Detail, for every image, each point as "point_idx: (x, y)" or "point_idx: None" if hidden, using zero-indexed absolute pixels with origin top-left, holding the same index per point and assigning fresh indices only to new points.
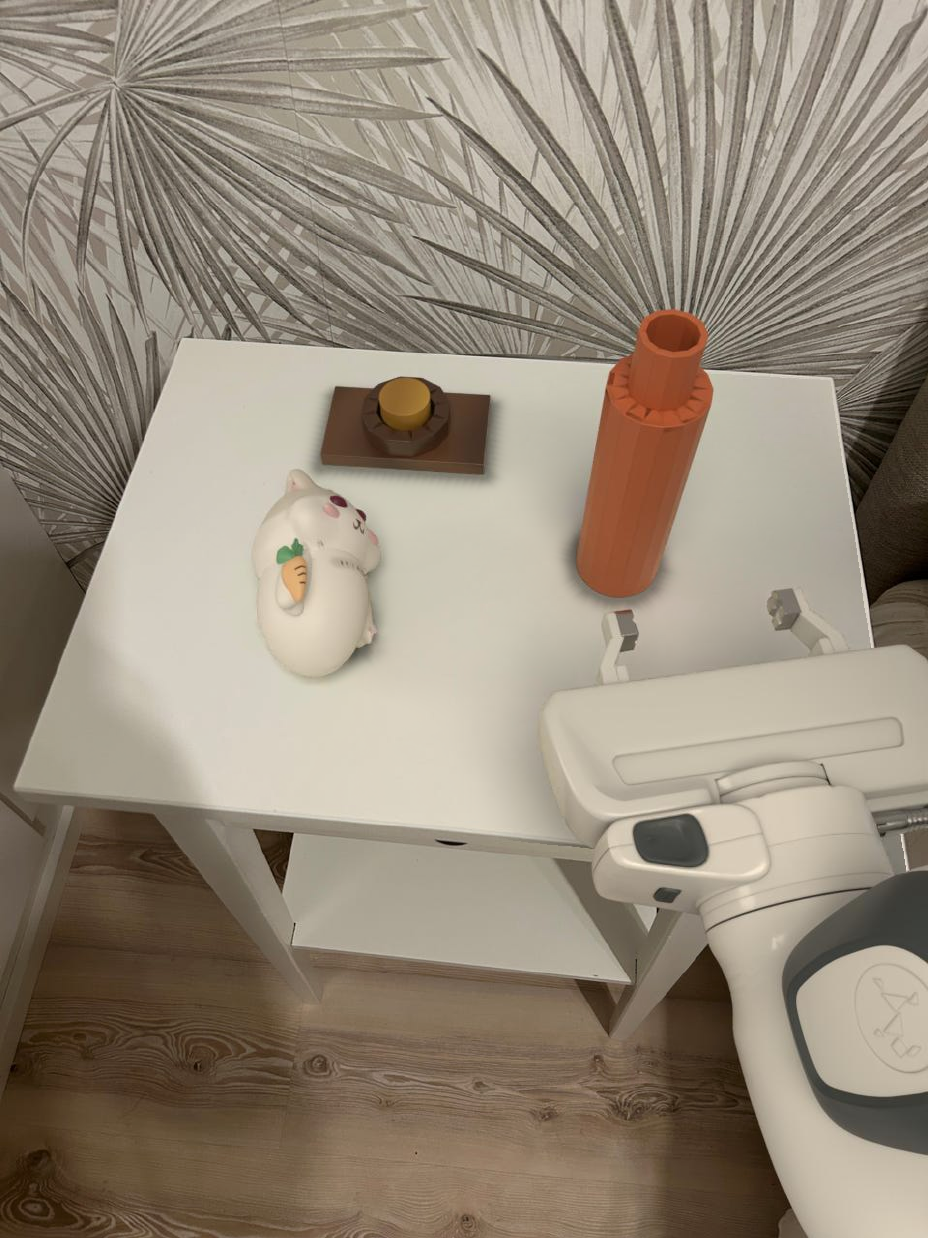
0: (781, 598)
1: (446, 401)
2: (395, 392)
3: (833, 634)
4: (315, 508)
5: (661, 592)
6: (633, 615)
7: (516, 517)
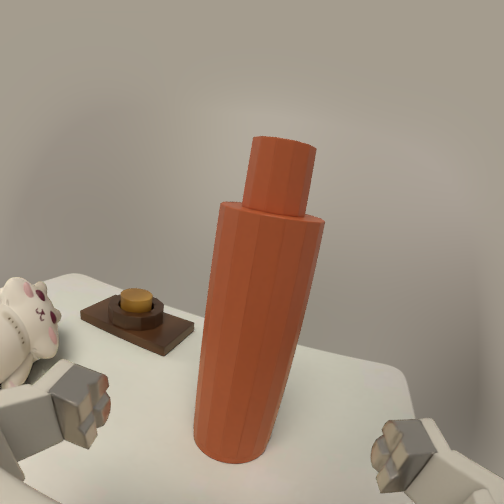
0: (401, 430)
1: (161, 309)
2: (133, 291)
3: (492, 481)
4: (19, 281)
5: (261, 468)
6: (98, 380)
7: (168, 384)
